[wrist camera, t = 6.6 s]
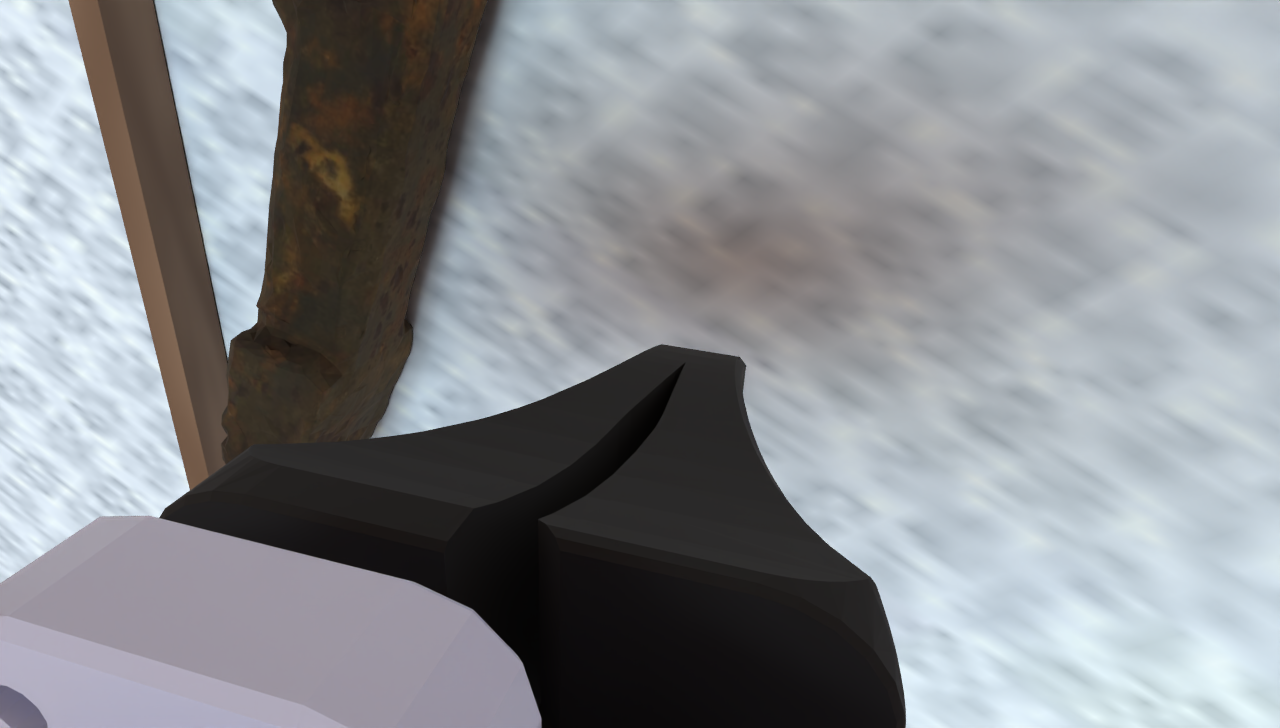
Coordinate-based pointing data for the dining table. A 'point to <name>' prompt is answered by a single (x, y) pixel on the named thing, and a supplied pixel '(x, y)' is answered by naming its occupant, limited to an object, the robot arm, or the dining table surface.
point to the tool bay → (158, 217)
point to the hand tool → (347, 214)
